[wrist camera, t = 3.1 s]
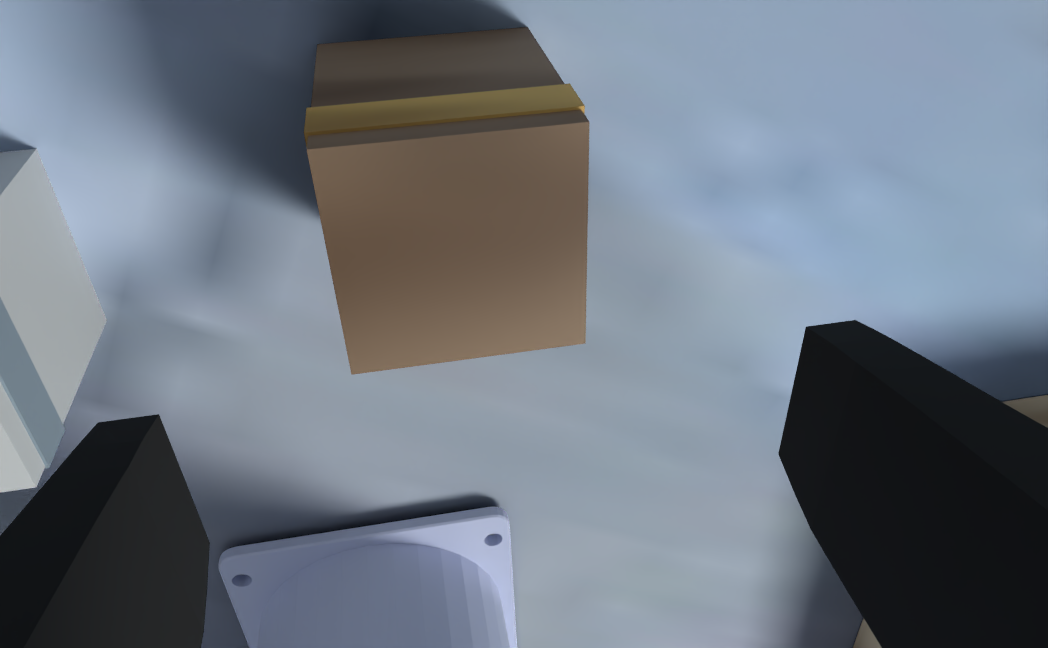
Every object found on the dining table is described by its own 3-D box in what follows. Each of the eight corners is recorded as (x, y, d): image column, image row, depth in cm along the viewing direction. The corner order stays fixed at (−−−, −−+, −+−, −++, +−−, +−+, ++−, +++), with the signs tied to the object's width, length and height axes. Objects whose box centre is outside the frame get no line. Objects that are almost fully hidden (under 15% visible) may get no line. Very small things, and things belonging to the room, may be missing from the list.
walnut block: (534, 212, 18) (588, 345, 14) (348, 233, 17) (349, 377, 13) (529, 23, 16) (592, 118, 12) (313, 41, 15) (301, 146, 11)
